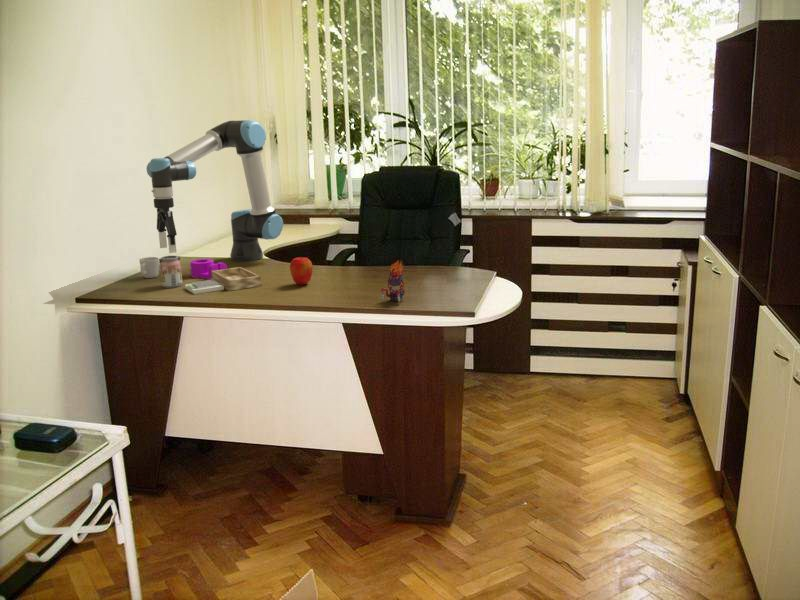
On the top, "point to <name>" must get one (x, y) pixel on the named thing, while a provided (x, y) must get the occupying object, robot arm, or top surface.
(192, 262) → the magenta pipe bracket
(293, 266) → the apple
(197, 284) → the grey square pad
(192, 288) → the checker base
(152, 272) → the cup
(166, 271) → the beverage can
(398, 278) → the figurine
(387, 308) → the top surface
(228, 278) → the trough board
